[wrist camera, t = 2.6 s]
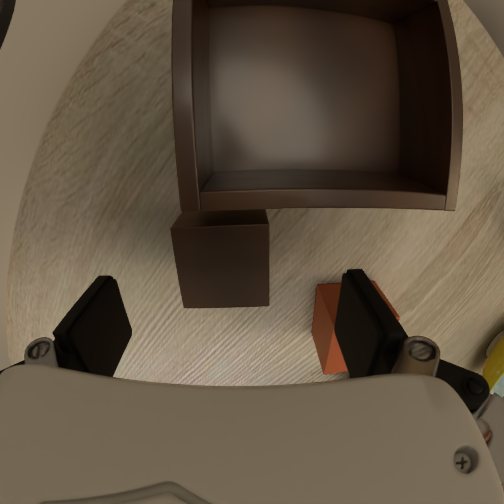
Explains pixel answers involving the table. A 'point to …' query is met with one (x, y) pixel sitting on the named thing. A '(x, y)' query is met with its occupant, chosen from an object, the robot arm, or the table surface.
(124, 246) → the table surface
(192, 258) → the walnut block
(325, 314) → the terracotta block
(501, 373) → the bowl
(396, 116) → the walnut bin
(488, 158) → the table surface
